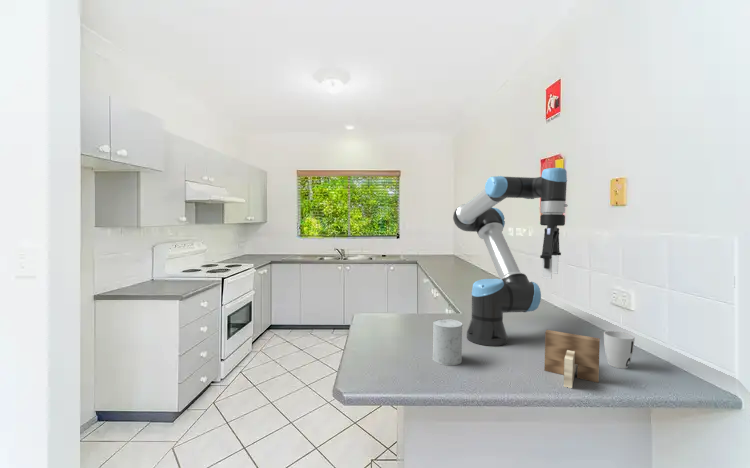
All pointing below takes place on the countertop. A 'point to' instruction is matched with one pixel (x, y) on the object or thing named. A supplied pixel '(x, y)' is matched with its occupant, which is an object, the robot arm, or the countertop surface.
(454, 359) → the grey stone cylinder
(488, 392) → the countertop surface
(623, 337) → the cup
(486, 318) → the robot arm
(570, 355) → the maple plate
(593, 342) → the brown wooden board
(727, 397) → the countertop surface
